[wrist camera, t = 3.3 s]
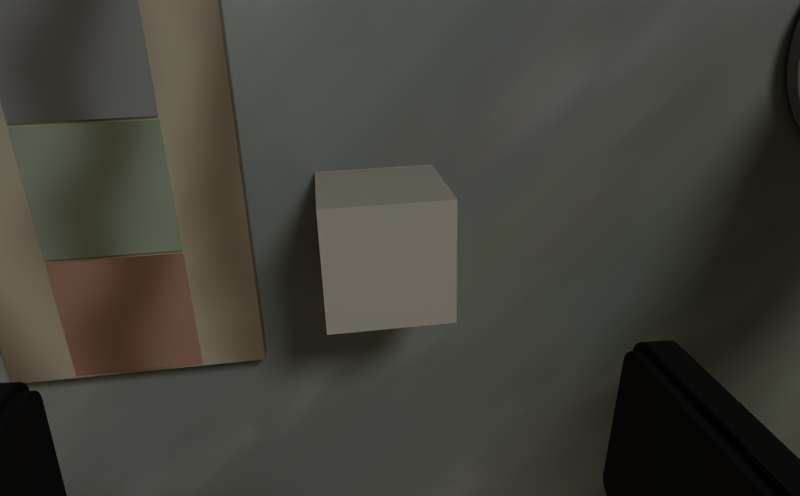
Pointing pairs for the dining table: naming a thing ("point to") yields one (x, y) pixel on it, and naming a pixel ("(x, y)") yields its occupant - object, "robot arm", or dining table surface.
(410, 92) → the dining table surface
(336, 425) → the dining table surface
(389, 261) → the cream cube
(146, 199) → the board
